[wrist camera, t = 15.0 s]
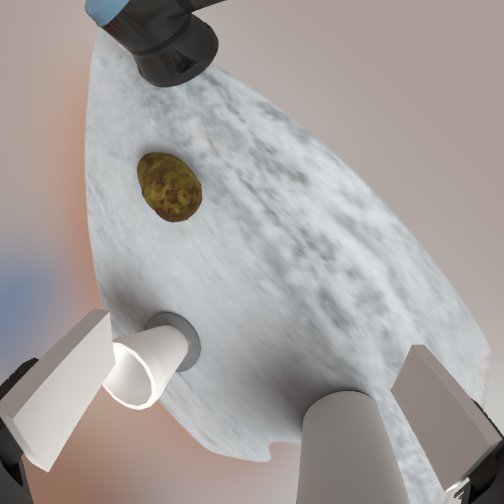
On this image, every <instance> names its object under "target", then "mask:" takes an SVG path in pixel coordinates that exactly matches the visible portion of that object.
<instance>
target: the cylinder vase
mask: <svg viewBox="0 0 504 504" xmlns="http://www.w3.org/2000/svg"><path fill="white" fill-rule="evenodd" d="M296 504H410V502H409V498H408V495H407V492H406V488H405V485H404V482H403V479H402V476H401V472H400V469H399V466H398V463H397V460H396V457H395V454H394V451H393V448H392V446H391V443H390V440H389V437H388V434H387V431H386V429H385V426H384V423H383V421H382V418H381V415H380V413H379V410H378V407H377V405H376V403H375V402H374V401H373V400H372V399H371V398H370V397H369V396H367V395H365V394H363V393H360V392H355V391H340V392H335V393H332V394H329V395H326V396H324V397H322V398H321V399H319V400H318V401H316V402H315V403H314V404H313V405H312V406H311V407H310V408H309V409H308V410H307V412H306V414H305V416H304V419H303V424H302V441H301V456H300V470H299V481H298V492H297V502H296Z"/></svg>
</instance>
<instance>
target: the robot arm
mask: <svg viewBox="0 0 504 504" xmlns="http://www.w3.org/2000/svg"><path fill="white" fill-rule="evenodd" d="M222 1H225V0H86V3H85V10H86V13H87V14H88V15H89V16H90V17H91V18H92V19H93V20H94V21H95V22H96V24H97V25H98V26H99V27H101V28H103V29H104V30H105V31H106V32H107V33H109V34H110V35H111V36H112V37H113V38H115V39H116V40H117V41H118V42H119V43H120V44H122V45H123V46H124V47H125V48H126V49H127V50H128V51H130V52H131V53H132V55H133V57H134V59H135V61H136V63H137V66H138V70H139V72H140V74H141V75H142V77H143V78H144V79H146V80H147V81H148V82H149V83H150V84H152V85H154V86H158V87H172V86H176V85H179V84H182V83H185V82H187V81H189V80H191V79H193V78H194V77H196V76H197V75H199V74H200V73H201V72H202V71H204V70H205V69H206V68H207V67H208V66H209V64H210V63H211V62H212V61H213V59H214V57H215V56H216V53H217V50H218V38H217V36H216V34H215V32H214V31H213V29H212V28H211V27H210V26H209V25H208V24H207V23H205V22H203V21H202V20H201V19H199V18H198V17H196V16H195V15H193V14H192V13H191V12H193V11H196V10H199V9H201V8H204V7H207V6H210V5H213V4H216V3H219V2H222ZM115 364H116V362H115V355H114V348H113V340H112V331H111V322H110V312H108V311H104V310H100V309H96V308H94V309H93V310H92V311H91V312H89V313H88V314H87V315H86V316H85V317H84V318H83V319H82V320H81V321H80V322H78V323H77V324H76V325H75V326H74V327H73V328H72V329H71V330H70V331H69V332H68V333H67V334H66V335H65V336H64V337H62V338H61V339H60V340H59V341H58V342H57V343H56V344H55V345H54V346H53V347H52V348H51V349H50V350H49V351H48V352H47V353H46V354H45V355H44V356H43V357H42V358H41V359H40V360H39V359H36V358H33V359H31V360H29V361H26V362H25V363H23V364H22V365H21V366H20V367H19V368H18V369H17V370H16V371H15V373H13V374H12V375H11V376H10V377H9V379H7V380H6V381H5V382H4V383H3V384H2V385H1V386H0V504H34V503H33V500H32V497H31V493H30V490H29V486H28V482H27V478H26V474H25V470H24V464H23V462H22V459H21V456H22V454H23V453H24V454H25V455H26V456H27V458H28V459H29V460H30V462H32V463H33V464H35V465H36V466H38V467H40V468H41V469H43V470H45V471H47V472H49V470H50V469H51V467H52V465H53V463H54V462H55V460H56V458H57V456H58V455H59V453H60V451H61V449H62V448H63V446H64V444H65V443H66V441H67V439H68V438H69V436H70V434H71V433H72V431H73V429H74V428H75V426H76V424H77V423H78V421H79V420H80V418H81V417H82V415H83V413H84V412H85V410H86V409H87V407H88V406H89V404H90V402H91V401H92V399H93V397H94V396H95V395H96V393H97V392H98V390H99V388H100V387H101V385H102V384H103V382H104V381H105V379H106V378H107V376H108V375H109V373H110V372H111V370H112V369H113V367H114V366H115ZM391 392H392V394H393V396H394V398H395V399H396V401H397V403H398V405H399V406H400V408H401V410H402V412H403V413H404V415H405V417H406V419H407V421H408V422H409V424H410V426H411V428H412V430H413V432H414V433H415V435H416V437H417V439H418V441H419V443H420V444H421V446H422V448H423V450H424V452H425V454H426V456H427V458H428V460H429V462H430V464H431V466H432V468H433V469H434V471H435V473H436V475H437V477H438V479H439V482H440V484H441V486H442V488H443V490H444V492H446V491H448V490H450V489H453V488H455V487H457V486H459V485H460V484H461V483H462V482H463V481H464V480H465V479H466V478H467V477H468V478H469V479H470V481H469V482H468V483H467V484H465V485H464V486H463V487H462V488H461V489H460V490H459V491H458V492H457V493H455V495H454V498H456V497H457V496H458V495H460V494H461V493H462V492H463V491H464V493H463V494H462V495H461V496H460V497H459V498H458V499H461V500H462V502H461V504H504V436H503V435H502V434H501V432H500V431H499V430H498V428H497V427H496V426H495V424H494V423H493V422H492V421H491V419H490V418H488V416H487V414H486V413H485V412H483V409H482V408H481V407H480V406H479V404H478V403H477V402H476V401H474V400H473V399H471V398H470V397H469V396H468V395H467V393H466V392H465V391H464V390H463V389H462V387H461V386H460V385H459V384H458V383H457V381H456V380H455V379H454V378H453V377H452V376H451V374H450V373H449V372H448V371H447V370H446V369H445V368H444V366H443V365H442V364H441V363H440V362H439V361H438V360H437V359H436V357H435V356H434V355H433V354H432V353H431V352H430V351H429V350H428V349H427V347H426V346H425V345H412V346H411V348H410V351H409V353H408V355H407V357H406V360H405V362H404V364H403V366H402V368H401V371H400V373H399V375H398V377H397V379H396V381H395V383H394V385H393V387H392V389H391Z"/></svg>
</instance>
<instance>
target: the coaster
mask: <svg viewBox="0 0 504 504" xmlns="http://www.w3.org/2000/svg"><path fill="white" fill-rule="evenodd" d="M163 325H171V326H173V327H175V328H177V329H179V331H180V332H181V333H182V334H183V335H184V336H185V338H186V341H187V343H188V352H187V354H186V356H185V357H184V359H183V360H182V362H181V363H180V365H179V366H178V368H177V369H176V371H175V372H181V371H185V370H187V369H189V368H191V367H192V366H193V365H194V364H195V363H196V361H197V360H198V358H199V355H200V349H201V347H200V340H199V337H198V335H197V333H196V331H195V329H194V328H193V326H192V325H191V324H190V323H189V322H188V321H187V320H185V319H184V318H182V317H181V316H179V315H176V314H173V313H162V314H159V315H156V316H155V317H153V318H152V319H150V320H149V322H148V323H147V325H146V327H145V330H149V329H152V328H155V327H159V326H163ZM145 330H144V331H145Z"/></svg>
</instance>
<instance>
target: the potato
mask: <svg viewBox="0 0 504 504" xmlns="http://www.w3.org/2000/svg"><path fill="white" fill-rule="evenodd" d="M137 174H138V178H139V182H140V185H141V189H142V195H143V197H144V198H145V200H146V202H147V203H148V205H149V206H150V207H151V208H152V209H154V210H155V212H156V213H157V214H158V215H159V216H160V217H161V218H162V219H164V220H166V221H169V222H181V221H184V220H187V219H188V218H189V217H191V216H192V215H193V214H194V213H195V212H196V211H197V209H198V208H199V206H200V204H201V201H202V189H201V184H200V183H199V181H198V179H197V178H196V176H195V175H194V173H193V172H192V171H191V170H190V169H189V168H188V166H187V165H186V164H185V163H184V162H183V161H181V160H180V159H178V158H177V157H175V156H173V155H170V154H166V153H157V152H153V153H148V154H146V155H144V156H143V157H142V158H141V160H140V161H139V164H138V167H137Z"/></svg>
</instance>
